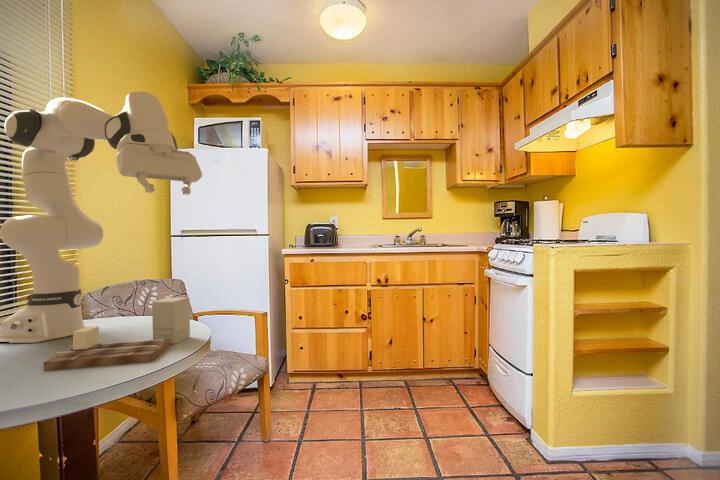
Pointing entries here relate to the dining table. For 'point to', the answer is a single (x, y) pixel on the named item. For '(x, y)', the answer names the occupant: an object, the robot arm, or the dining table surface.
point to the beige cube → (86, 339)
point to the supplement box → (171, 319)
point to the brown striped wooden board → (109, 354)
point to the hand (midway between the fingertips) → (169, 192)
